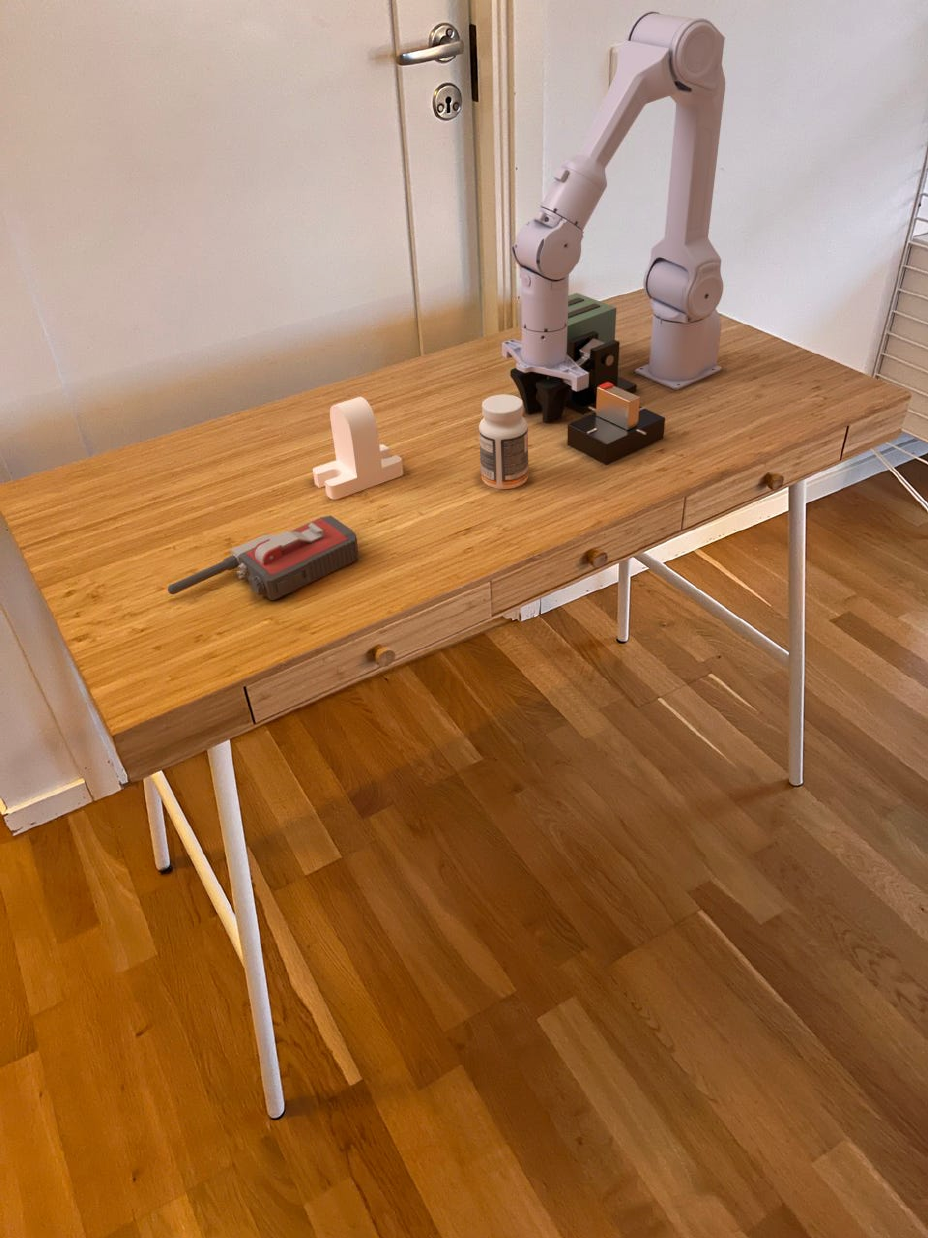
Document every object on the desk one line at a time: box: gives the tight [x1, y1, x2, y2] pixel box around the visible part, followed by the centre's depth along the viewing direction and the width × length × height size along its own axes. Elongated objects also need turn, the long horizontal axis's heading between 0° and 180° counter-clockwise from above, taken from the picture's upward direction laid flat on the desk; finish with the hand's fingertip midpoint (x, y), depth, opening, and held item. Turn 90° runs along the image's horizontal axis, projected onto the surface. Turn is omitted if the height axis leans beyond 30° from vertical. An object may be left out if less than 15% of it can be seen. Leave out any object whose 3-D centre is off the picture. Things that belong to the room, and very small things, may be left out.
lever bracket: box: [565, 331, 638, 416], centre depth 129 cm, size 10×7×8 cm
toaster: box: [567, 292, 617, 356], centre depth 135 cm, size 10×8×9 cm
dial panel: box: [566, 405, 666, 466], centre depth 120 cm, size 10×10×3 cm
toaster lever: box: [534, 339, 605, 405], centre depth 126 cm, size 12×3×3 cm, turn 129°
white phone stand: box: [312, 396, 404, 501], centre depth 113 cm, size 5×10×10 cm, turn 123°
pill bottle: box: [478, 393, 529, 490], centre depth 112 cm, size 6×6×10 cm
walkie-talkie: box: [167, 515, 360, 601], centre depth 100 cm, size 9×4×20 cm
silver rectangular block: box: [596, 382, 641, 430], centre depth 117 cm, size 6×2×4 cm, turn 39°
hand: (543, 422), depth 128 cm, fingers closed on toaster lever, 3 cm apart
